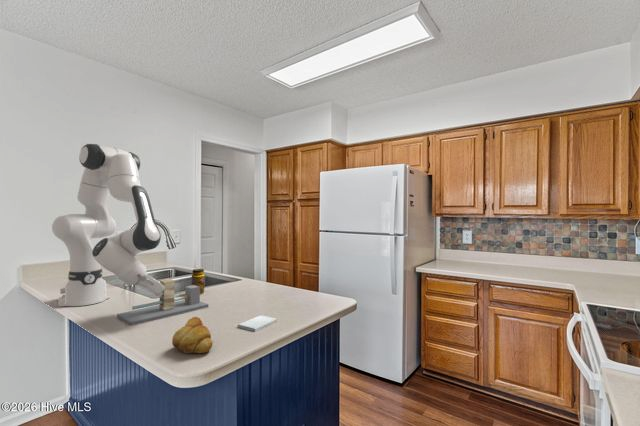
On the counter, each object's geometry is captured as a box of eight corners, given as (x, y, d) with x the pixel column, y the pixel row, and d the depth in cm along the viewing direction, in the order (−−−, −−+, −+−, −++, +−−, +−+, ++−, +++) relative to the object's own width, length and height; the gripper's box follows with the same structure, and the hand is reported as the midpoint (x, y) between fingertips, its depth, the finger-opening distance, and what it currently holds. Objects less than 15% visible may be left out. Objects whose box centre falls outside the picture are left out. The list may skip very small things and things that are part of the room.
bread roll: (219, 350, 92) (220, 323, 92) (187, 362, 85) (188, 332, 85) (197, 338, 100) (197, 313, 101) (166, 348, 93) (166, 321, 93)
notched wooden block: (159, 307, 127) (159, 280, 127) (169, 305, 130) (169, 278, 130) (164, 310, 124) (164, 282, 125) (174, 307, 128) (174, 280, 128)
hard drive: (255, 328, 107) (277, 318, 118) (237, 324, 111) (260, 314, 122) (255, 333, 107) (277, 322, 118) (237, 329, 111) (260, 318, 122)
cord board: (116, 317, 120) (117, 295, 120) (191, 301, 143) (192, 282, 143) (130, 325, 111) (131, 302, 111) (208, 307, 134) (208, 287, 134)
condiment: (206, 294, 155) (206, 269, 155) (188, 296, 151) (188, 271, 151) (203, 291, 162) (203, 267, 162) (185, 293, 157) (185, 269, 157)
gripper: (151, 270, 113) (178, 292, 120) (130, 263, 126) (155, 284, 134) (138, 284, 110) (166, 306, 117) (117, 276, 123) (144, 296, 130)
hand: (160, 294), depth 125 cm, fingers closed, pressing on notched wooden block
